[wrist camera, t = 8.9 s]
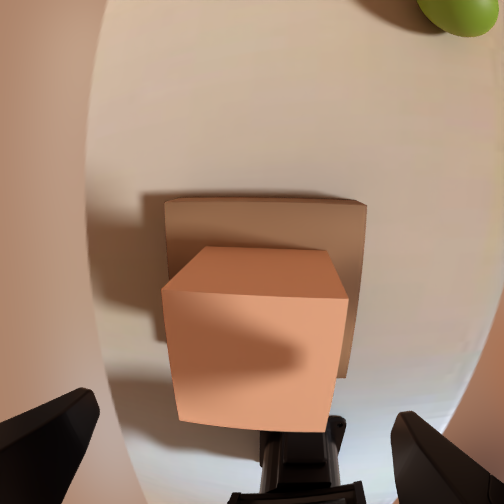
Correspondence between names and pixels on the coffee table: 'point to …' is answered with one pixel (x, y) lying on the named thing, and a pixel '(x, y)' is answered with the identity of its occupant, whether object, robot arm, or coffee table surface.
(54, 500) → the robot arm
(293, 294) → the terracotta cube
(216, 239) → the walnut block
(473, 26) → the snail figurine
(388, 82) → the coffee table surface
